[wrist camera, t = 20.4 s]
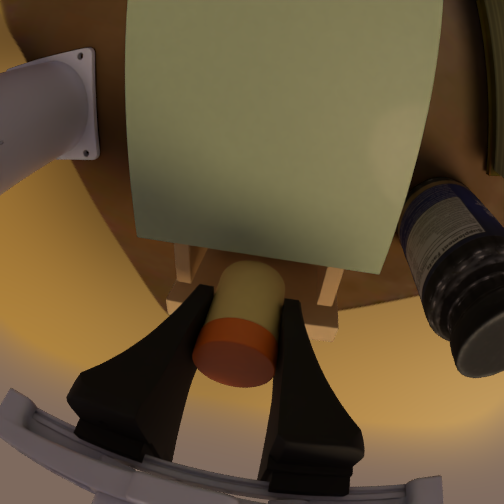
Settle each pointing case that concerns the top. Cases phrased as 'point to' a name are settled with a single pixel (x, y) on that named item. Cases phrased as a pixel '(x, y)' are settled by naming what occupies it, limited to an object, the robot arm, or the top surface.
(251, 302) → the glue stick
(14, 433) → the robot arm
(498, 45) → the red hardcover book
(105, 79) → the top surface
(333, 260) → the cabinet
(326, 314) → the drawer
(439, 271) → the pill bottle
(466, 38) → the top surface
